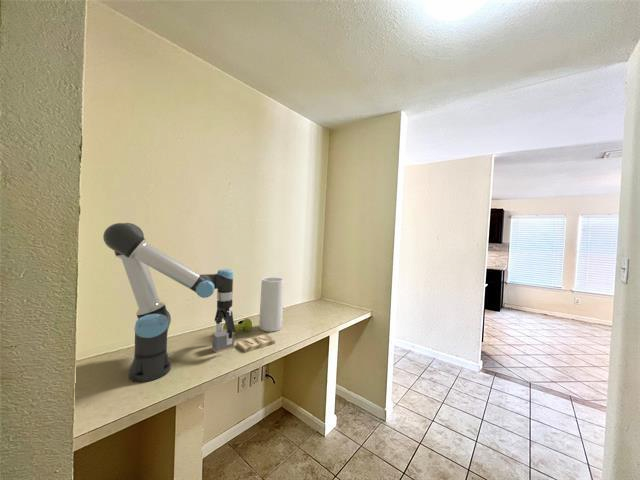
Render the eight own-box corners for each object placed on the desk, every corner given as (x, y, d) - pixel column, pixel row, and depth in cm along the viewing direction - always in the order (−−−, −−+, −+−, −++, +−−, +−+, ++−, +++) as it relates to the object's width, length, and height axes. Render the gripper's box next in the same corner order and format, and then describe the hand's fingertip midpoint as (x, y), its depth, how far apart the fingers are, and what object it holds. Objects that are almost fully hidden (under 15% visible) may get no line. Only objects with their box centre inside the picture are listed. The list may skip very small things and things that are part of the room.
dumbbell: (227, 338, 150) (227, 326, 150) (221, 334, 156) (221, 322, 156) (253, 331, 162) (253, 320, 161) (246, 327, 167) (247, 316, 167)
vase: (268, 334, 158) (271, 282, 157) (254, 327, 168) (256, 278, 167) (286, 328, 169) (288, 279, 168) (272, 322, 179) (274, 276, 177)
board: (245, 352, 134) (245, 348, 134) (236, 345, 142) (236, 341, 142) (275, 343, 146) (275, 340, 146) (265, 337, 154) (266, 334, 154)
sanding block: (216, 353, 132) (217, 337, 132) (212, 348, 137) (212, 333, 136) (233, 348, 138) (234, 333, 138) (228, 344, 143) (229, 329, 143)
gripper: (242, 303, 130) (241, 346, 131) (222, 293, 148) (221, 330, 149) (227, 306, 125) (226, 350, 126) (208, 295, 143) (208, 333, 144)
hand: (223, 339), depth 138 cm, fingers open, 13 cm apart
